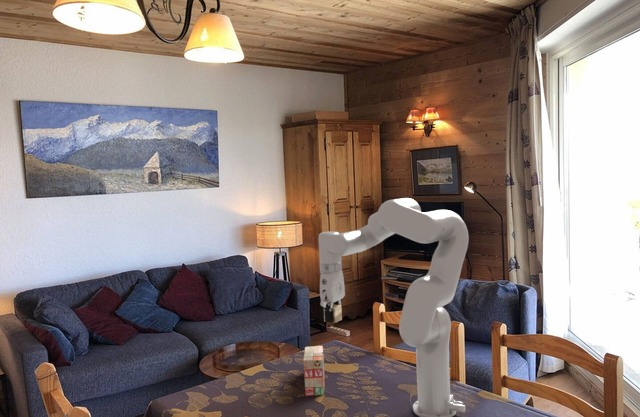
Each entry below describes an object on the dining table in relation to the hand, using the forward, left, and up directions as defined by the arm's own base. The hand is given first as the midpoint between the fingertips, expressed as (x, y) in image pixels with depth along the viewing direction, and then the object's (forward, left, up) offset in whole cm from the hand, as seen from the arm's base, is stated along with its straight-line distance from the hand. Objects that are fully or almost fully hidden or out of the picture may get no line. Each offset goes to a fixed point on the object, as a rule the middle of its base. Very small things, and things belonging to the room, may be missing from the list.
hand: (333, 319), depth 174 cm
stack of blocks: (+6, +4, -22) cm, 23 cm away
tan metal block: (0, 0, 0) cm, 0 cm away
